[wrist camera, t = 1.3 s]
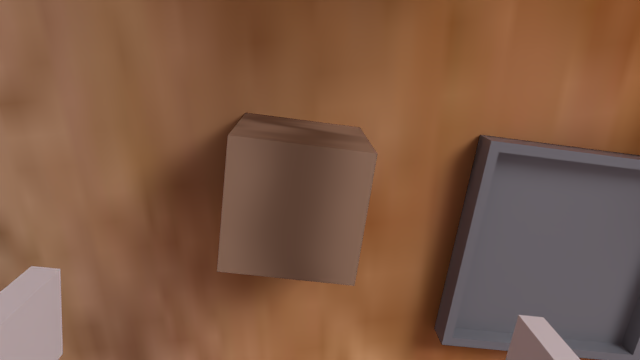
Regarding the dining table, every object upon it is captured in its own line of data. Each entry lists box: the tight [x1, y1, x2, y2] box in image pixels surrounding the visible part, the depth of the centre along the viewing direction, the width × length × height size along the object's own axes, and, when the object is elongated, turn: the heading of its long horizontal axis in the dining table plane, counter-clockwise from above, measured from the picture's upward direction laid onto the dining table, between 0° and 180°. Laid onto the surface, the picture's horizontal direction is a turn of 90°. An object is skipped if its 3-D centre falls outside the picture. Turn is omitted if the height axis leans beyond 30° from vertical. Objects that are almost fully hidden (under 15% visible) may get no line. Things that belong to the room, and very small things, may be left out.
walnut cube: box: [217, 113, 377, 286], centre depth 26 cm, size 7×7×7 cm
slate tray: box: [434, 135, 640, 360], centre depth 30 cm, size 14×14×2 cm
